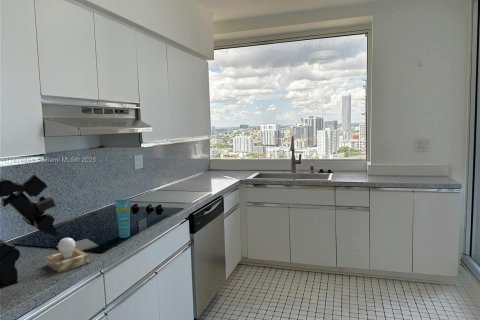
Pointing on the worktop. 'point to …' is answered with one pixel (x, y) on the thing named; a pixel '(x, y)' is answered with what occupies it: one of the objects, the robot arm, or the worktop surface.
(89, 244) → the mat
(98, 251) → the worktop surface
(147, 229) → the worktop surface
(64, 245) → the lightbulb
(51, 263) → the holder block
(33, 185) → the robot arm
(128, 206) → the tube
